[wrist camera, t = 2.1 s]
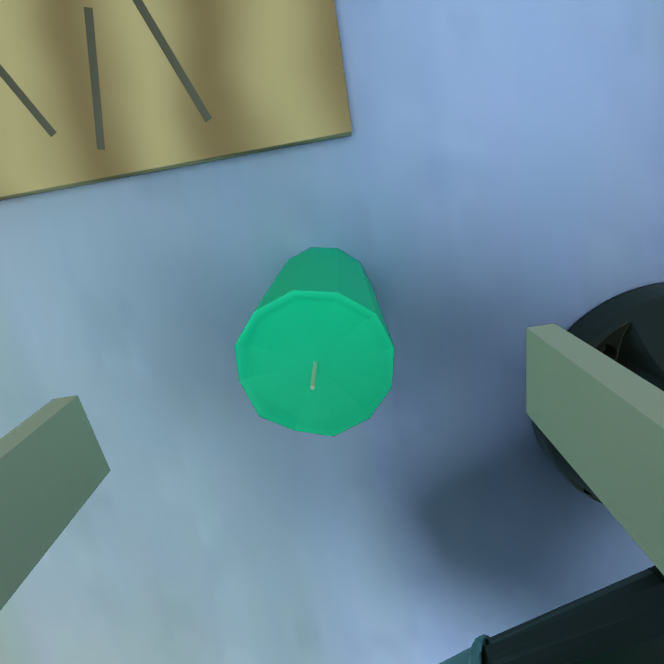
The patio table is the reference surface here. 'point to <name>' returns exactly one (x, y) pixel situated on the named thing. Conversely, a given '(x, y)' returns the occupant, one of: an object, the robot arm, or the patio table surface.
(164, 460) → the patio table surface
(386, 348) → the candle
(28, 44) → the oak board
